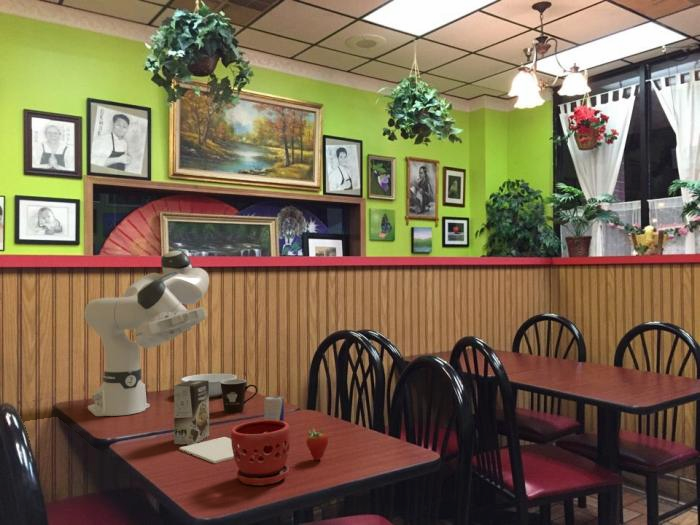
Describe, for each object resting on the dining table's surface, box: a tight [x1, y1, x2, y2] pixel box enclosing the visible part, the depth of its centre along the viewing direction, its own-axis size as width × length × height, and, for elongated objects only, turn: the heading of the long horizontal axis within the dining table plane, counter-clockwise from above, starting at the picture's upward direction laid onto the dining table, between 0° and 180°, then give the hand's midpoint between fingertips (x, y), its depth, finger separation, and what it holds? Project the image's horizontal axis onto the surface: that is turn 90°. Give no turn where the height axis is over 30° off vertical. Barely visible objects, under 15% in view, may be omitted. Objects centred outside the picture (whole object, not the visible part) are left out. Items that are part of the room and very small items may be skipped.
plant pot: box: [230, 419, 291, 487], centre depth 135 cm, size 13×13×12 cm
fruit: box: [305, 427, 329, 461], centre depth 149 cm, size 5×5×8 cm
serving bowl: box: [180, 373, 237, 398], centre depth 231 cm, size 21×21×7 cm
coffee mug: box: [221, 378, 258, 414], centre depth 202 cm, size 12×9×10 cm
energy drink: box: [263, 395, 285, 433], centre depth 166 cm, size 5×5×12 cm
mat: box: [178, 436, 239, 464], centre depth 158 cm, size 17×14×1 cm
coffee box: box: [173, 380, 210, 446], centre depth 168 cm, size 9×6×16 cm
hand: (185, 316), depth 176 cm, fingers closed
